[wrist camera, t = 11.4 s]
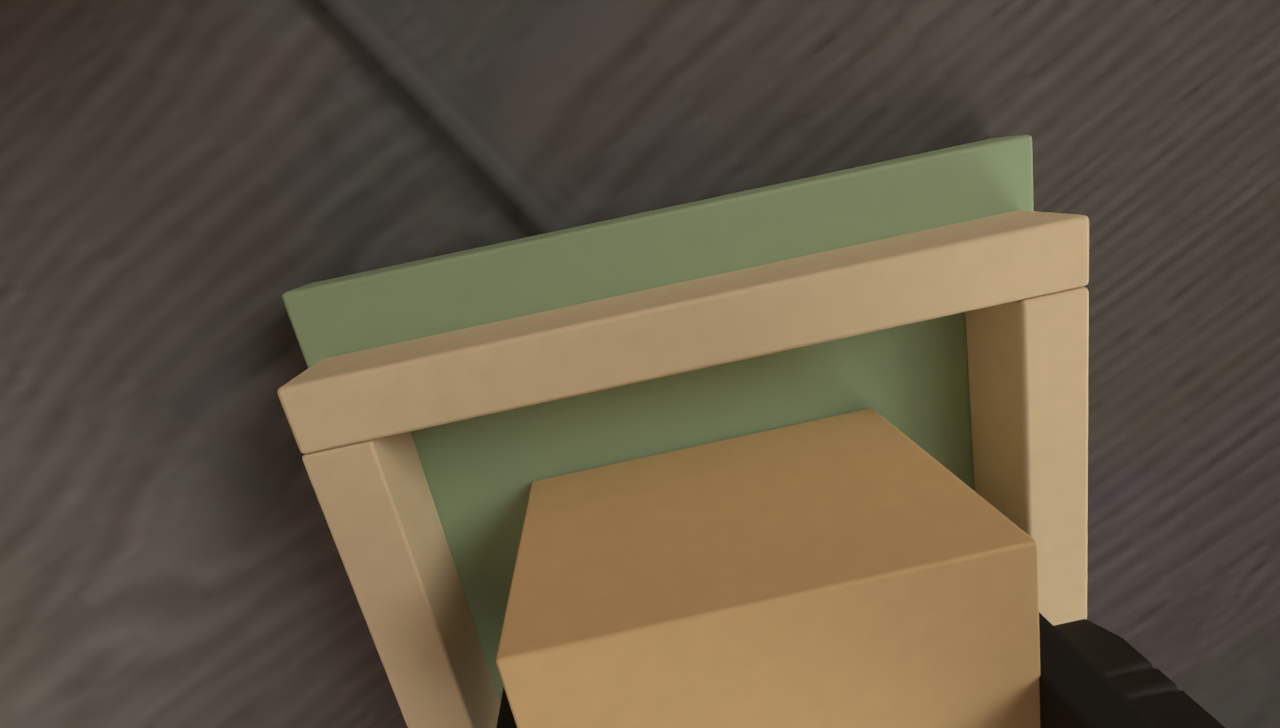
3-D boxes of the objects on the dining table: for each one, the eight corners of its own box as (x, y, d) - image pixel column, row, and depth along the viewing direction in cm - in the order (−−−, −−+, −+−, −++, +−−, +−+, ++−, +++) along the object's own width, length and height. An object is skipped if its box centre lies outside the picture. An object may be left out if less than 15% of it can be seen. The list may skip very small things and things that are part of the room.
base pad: (306, 283, 13) (222, 314, 10) (994, 137, 13) (1110, 126, 10) (513, 859, 17) (497, 996, 14) (1017, 747, 17) (1100, 860, 14)
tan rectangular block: (531, 481, 13) (492, 661, 8) (872, 406, 13) (1039, 540, 8) (606, 749, 15) (612, 1024, 10) (901, 684, 15) (1049, 925, 10)
